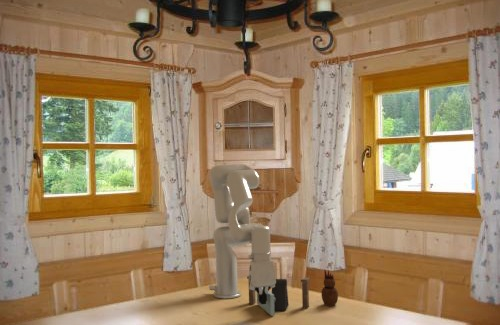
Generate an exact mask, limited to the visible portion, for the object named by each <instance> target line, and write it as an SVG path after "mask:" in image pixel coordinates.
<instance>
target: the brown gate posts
mask: <svg viewBox="0 0 500 325" xmlns="http://www.w3.org/2000/svg"><path fill="white" fill-rule="evenodd" d="M246 277H247V278H246V279H247V281H248V282H249V275H248V276H246ZM309 281H310V277H305V276H304V277H301V279H300V282H301V294H302V295H301V296H302V299H301V300H302V309H308V308H309V307H310V306H309V305H310V301H309V300H310V298H309V297H310V294H309V293H310V291H309ZM249 286H250V284H249V283H248V287H249ZM248 304H249V305H252V306H253V305H255V304H257V293H256V291H255V290H250V289H249V288H248Z"/></svg>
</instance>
